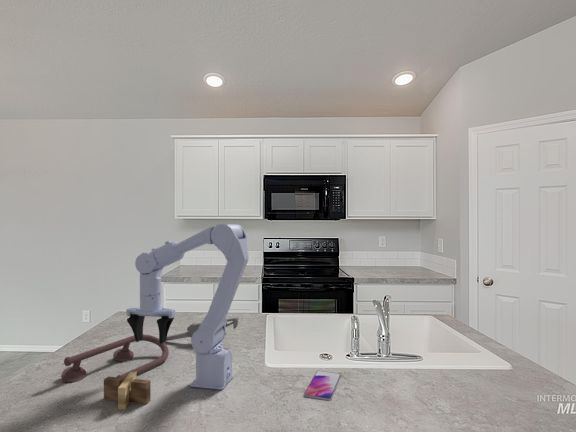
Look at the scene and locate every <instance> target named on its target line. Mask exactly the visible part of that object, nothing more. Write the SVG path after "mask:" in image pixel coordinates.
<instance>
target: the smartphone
mask: <svg viewBox="0 0 576 432" xmlns="http://www.w3.org/2000/svg"><path fill="white" fill-rule="evenodd" d="M341 377H342V374H341V373H338V372H331V371H326V370H316V371H315V373H314V376H313V377H312V378H311V380H310V382H309V384H308V385H307V387H306V389H305V391H304V392H303V397H305V398H309V399H316V400H321V401H322V400H323V401H329V402H330V401H333V398H334V395H335V392H336V390H337V387H338V385H339V383H340V380H341Z"/></svg>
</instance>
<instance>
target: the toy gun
mask: <svg viewBox="0 0 576 432" xmlns="http://www.w3.org/2000/svg"><path fill="white" fill-rule="evenodd" d="M226 320H227V323H226V327H225V328H228V327H229V326H232V325H233V330H235V329H236V328H237V327H238V325H239V320H240V319H239V317H237V316H234V317H228V318H226ZM228 322H229V323H228ZM200 324H201V322H197V323H195V322H193V323H192V324H190V325H189V326H187V328H186V330H187V331H183V332H179V333H174V334H170V335H167V338H166V342H168V341H173V340H174V341H175V340H179V339H180V340H181V339H185V338H191V337H192V335H193V333H194V332H195V331H197V330H198V328H199V326H200ZM225 336H227V333H226V334H225Z"/></svg>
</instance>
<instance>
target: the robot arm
mask: <svg viewBox="0 0 576 432" xmlns="http://www.w3.org/2000/svg"><path fill="white" fill-rule="evenodd" d="M247 239H248V235H247V233H246V232H245V229H244V228H243V227H242V226H241V225H240V224H237V223H226V224H225V223H219V224H216V225H215V226H211V227H208V228H205V229H203V230H202V231H199V232H197V233H196V234H194V235H191V236H190V237H187V238H186V239H183V240H182V241H176V240H166V241H164V244H163V245H162V246H161V245H160V246H159V247H158V248H157V247H152V249H151V251H150V252H142V253H141V254H139V255H138V256H137V257H136V258H135V262H134V263H135V265H134V266H135V268H136V270H137V272H138V273H139V307H129V308H126V311H125V312H126V315H125V316H126V317H129V318H127V319H126V322H127V323H128V325H129V327H130V328H131V330H132V334H133V336H135V340H136V341H135V342H136V343H140V341H141V340H142V338H143V335H144V323H145V317H154V318H155V317H157V318H158V317H159V318H158V319H156V324H157V327H158V334H159V335H158V338H159V342H160V344H163V343H165V342H167V341H166V338H167V336H168V334H169V333H168V332H169V330H170V327H171V325H172V323H173V321H174V319H175V317H176V309H172V308H165V307H162V275H163V269H164V268H165V267H167V266H170V265H171V264H172V265H173V264H174V263H177V262H178V261H181V260H183V258H184V256H185V254H186V253H187V252H190V251H193V250H195V249H197V248H199V247H202V246H204V245H214V246H215V247H216V248H217V249H218V251H220V252H221V253H222V254H223V256H224V258H225V259H226V264H225V267H224V269H223V273H222V274H221V278H220V280H219V283H218V286H217V288H216V291H215V294H214V296H213V298H212V301H211V303H210V306H209V308H208V311H207V314H206V315H205V316H204V318H203V320H202V321H201V322H200V323H201V324H200V326H199V328H198V330H197V331H195V332H194V333H193V335H192V337H190V338H191V339H190V343H191V346H192V348H193V350H195V379H194V380H193V381H192V382H191V383H189V387H191V388H200V389H211V390H220V391H221V390H224V388H225V387H226V386H227V385H228V384H229V383H230V381H231V380H232V378H233V377H234V375H233V354H232V351H231V350H227V349H225V348H223V340H224V339H225V337H226V335H227V331H226V328H227V327H226V323H227V324H228V322H227V320H226V319H227V315H228V313H229V311H230V308H231V307H232V306H231V305H232V303H233V300H234V298H235V295H236V293H237V290H238V288H239V286H240V282H241V280H242V277H243V274H244V272H245V269H246V267H247V265H248V262H249V254H248V253H249V251H248V244H247ZM225 334H226V335H225ZM141 342H142V341H141Z"/></svg>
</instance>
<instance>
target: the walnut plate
mask: <svg viewBox="0 0 576 432" xmlns="http://www.w3.org/2000/svg"><path fill="white" fill-rule="evenodd" d="M122 382H123V378H119V377H117V376H107V377H106V378H103V400H106V401H113V402H118V388H119V386H120V385H121V384H122ZM151 398H152V397H151V380H149V379H140V378H137V379H134V380H133V381H131V390H130V392H129V403H133V404H140V405H141V404H144V405H147V404H149V403H150V402H151Z"/></svg>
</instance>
